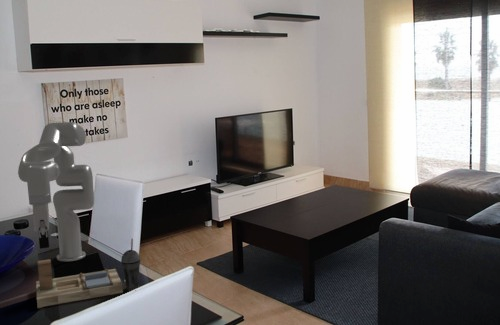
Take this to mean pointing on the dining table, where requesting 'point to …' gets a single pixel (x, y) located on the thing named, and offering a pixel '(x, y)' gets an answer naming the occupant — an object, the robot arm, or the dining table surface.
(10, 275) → the dining table surface
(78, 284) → the puzzle board
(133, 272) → the beverage cup
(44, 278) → the walnut block
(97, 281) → the lid
